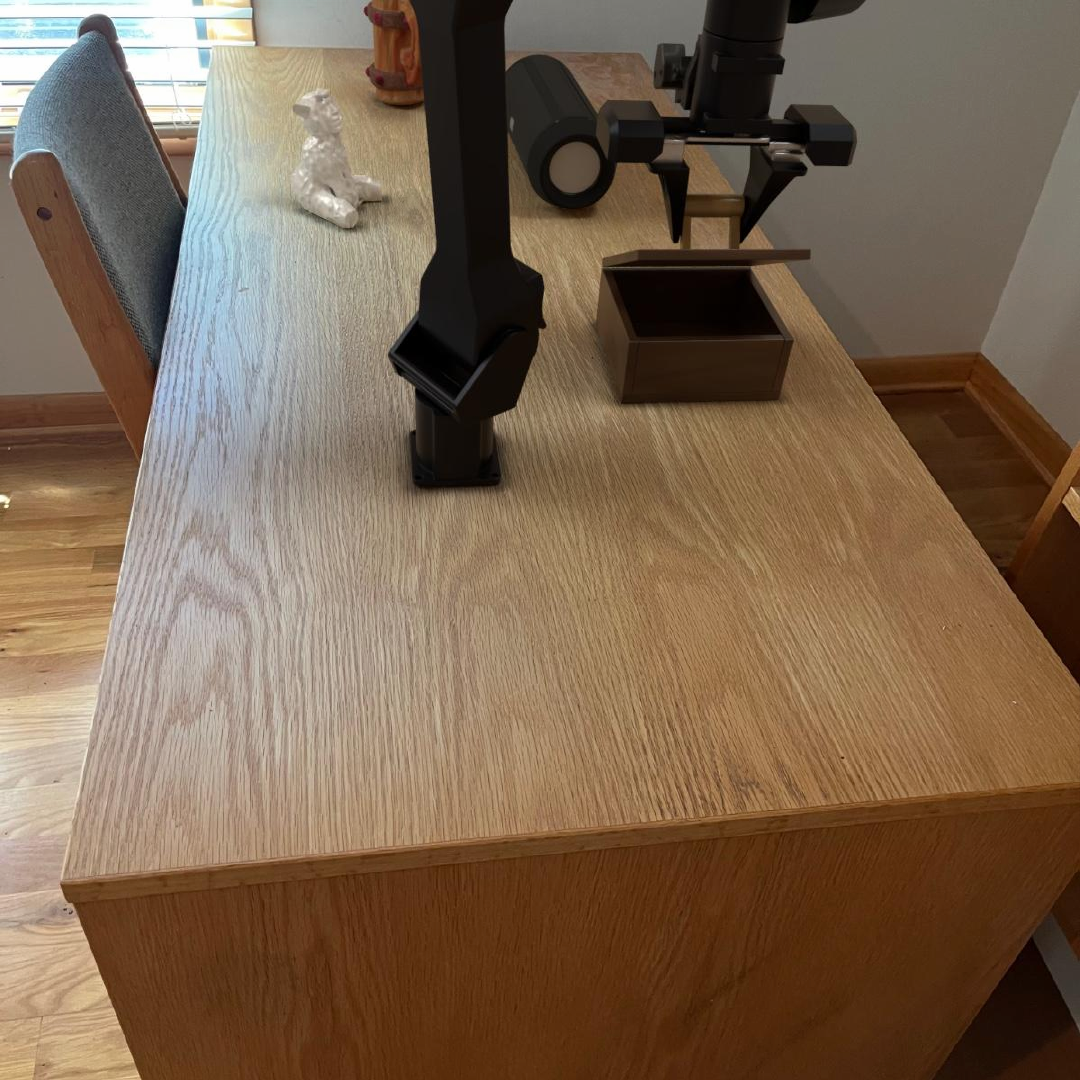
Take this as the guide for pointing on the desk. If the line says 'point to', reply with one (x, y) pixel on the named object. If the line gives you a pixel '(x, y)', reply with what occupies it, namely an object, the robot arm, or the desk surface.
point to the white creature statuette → (328, 165)
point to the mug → (395, 52)
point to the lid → (688, 257)
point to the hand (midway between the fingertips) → (706, 241)
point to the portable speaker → (556, 133)
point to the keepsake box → (691, 334)
